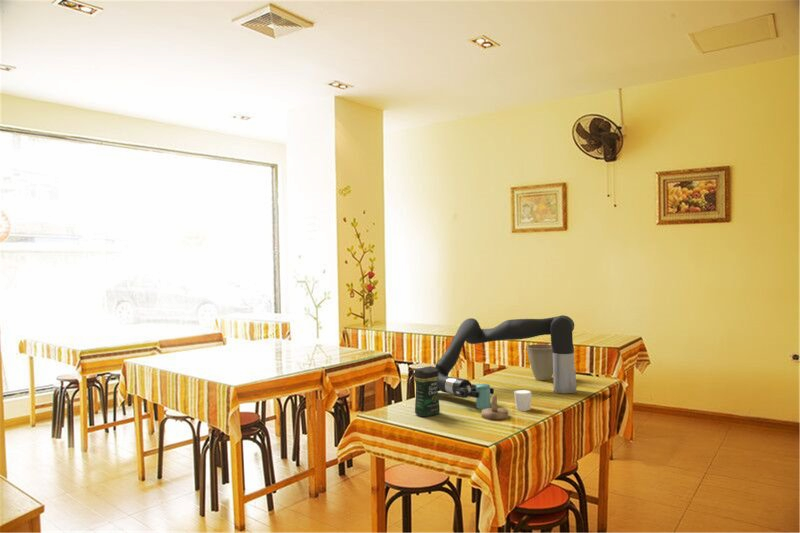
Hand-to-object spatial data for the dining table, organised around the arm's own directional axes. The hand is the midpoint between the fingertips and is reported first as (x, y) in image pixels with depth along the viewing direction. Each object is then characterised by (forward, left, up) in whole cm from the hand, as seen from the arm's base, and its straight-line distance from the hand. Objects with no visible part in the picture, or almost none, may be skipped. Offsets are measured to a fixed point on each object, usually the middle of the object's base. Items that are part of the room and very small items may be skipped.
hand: (486, 393), depth 231 cm
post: (-3, +12, -6) cm, 14 cm away
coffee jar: (+23, +8, -6) cm, 25 cm away
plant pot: (-29, -51, -6) cm, 59 cm away
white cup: (-14, +2, -6) cm, 16 cm away
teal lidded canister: (+1, -1, -6) cm, 6 cm away
